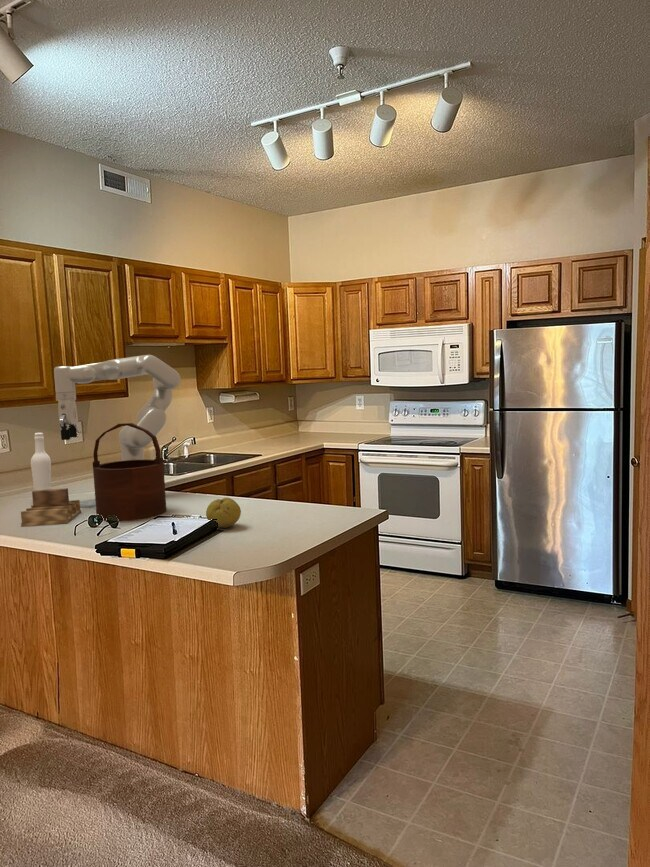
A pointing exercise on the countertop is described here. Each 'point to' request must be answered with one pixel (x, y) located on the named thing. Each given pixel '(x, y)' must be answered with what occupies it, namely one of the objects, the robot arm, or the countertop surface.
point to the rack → (50, 514)
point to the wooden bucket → (130, 484)
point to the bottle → (41, 465)
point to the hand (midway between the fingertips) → (69, 438)
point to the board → (50, 498)
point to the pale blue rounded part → (88, 503)
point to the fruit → (224, 512)
